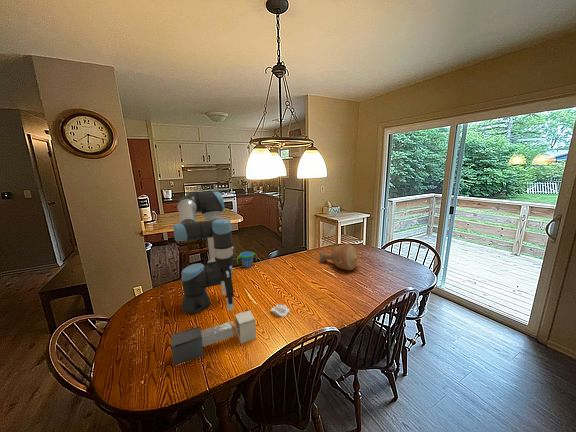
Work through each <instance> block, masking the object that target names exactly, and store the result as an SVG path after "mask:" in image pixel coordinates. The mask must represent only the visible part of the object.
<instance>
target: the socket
mask: <svg viewBox="0 0 576 432" xmlns="http://www.w3.org/2000/svg"><path fill="white" fill-rule="evenodd" d="M234 316H235V326H236V336H237V338H238V340H239V342H240V344H241V345H243V344H245V343H247V342H250V341H253V340H255V339H257V331H256V330H257V329H256V327H257V326H256V319H255V317H254V314H253V313H252V311H251V310H250V309H249V310H245V311H243V312H239V313H236V314H234Z"/></svg>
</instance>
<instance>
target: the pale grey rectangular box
mask: <svg viewBox="0 0 576 432" xmlns="http://www.w3.org/2000/svg"><path fill="white" fill-rule="evenodd" d="M200 331H201V336H202V344H203V347H206V346H209V345H212V344H215V343H217V342H221V341H224V340H226V339H229V338H232V337H233V338H235V337H237V332H236V323H235V322H234V319H231V320H230V321H228V322H225V323H222V324H218V325H215V326H211V327H208V328H206V329H205V328H204V329H203V330H201V329H200Z"/></svg>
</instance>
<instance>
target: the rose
mask: <svg viewBox="0 0 576 432" xmlns="http://www.w3.org/2000/svg"><path fill="white" fill-rule="evenodd" d="M270 311H271V313H272V314H274V315H276V316H278V317H281V318H284V317H287V316H288V314H289V313H290V308H289V307H288V306H287V305H286V304H285V305H284V304H275V306H274V307H272V308H271V309H270Z"/></svg>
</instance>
